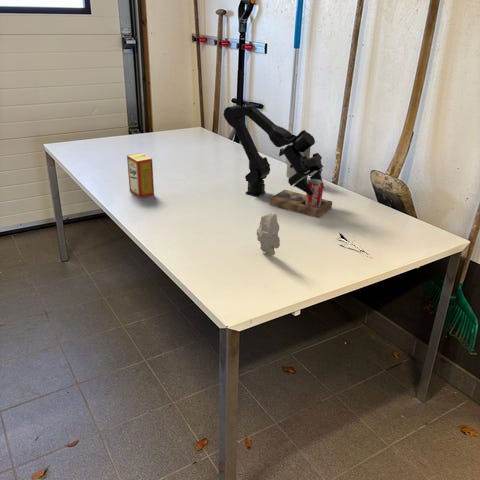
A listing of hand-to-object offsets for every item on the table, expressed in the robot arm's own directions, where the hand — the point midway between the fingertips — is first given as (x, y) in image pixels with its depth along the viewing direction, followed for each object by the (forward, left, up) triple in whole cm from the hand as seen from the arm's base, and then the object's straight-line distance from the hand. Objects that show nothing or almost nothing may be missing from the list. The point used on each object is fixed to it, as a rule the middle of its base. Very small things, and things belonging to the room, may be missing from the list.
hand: (317, 191), depth 188 cm
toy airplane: (+23, -21, -9) cm, 32 cm away
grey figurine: (+3, -43, -8) cm, 44 cm away
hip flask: (-23, +28, -8) cm, 37 cm away
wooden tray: (-7, 0, -8) cm, 11 cm away
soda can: (-2, +1, -8) cm, 8 cm away
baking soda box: (-68, -27, -8) cm, 74 cm away
